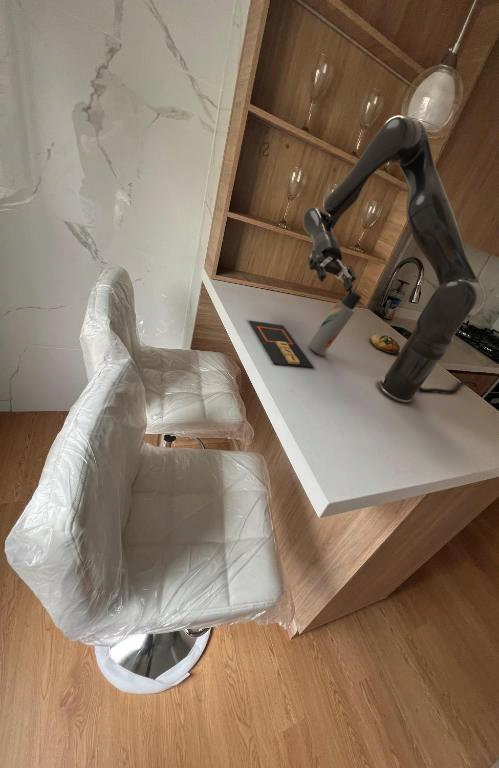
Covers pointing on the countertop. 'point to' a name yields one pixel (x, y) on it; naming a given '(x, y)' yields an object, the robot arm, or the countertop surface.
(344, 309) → the lotion bottle
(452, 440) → the countertop surface
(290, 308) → the countertop surface
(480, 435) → the countertop surface
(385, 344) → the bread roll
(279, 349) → the mat
